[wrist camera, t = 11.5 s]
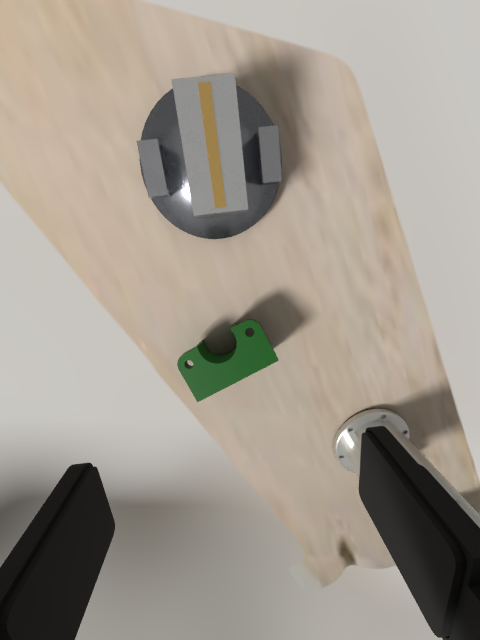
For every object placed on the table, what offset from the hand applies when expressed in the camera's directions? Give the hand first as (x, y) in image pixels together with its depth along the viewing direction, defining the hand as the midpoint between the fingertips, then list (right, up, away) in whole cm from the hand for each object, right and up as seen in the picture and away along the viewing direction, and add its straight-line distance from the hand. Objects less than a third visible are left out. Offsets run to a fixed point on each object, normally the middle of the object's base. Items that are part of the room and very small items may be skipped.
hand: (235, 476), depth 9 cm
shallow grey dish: (-3, +23, +20) cm, 30 cm away
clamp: (-2, +2, +27) cm, 27 cm away
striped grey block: (-3, +22, +19) cm, 29 cm away
